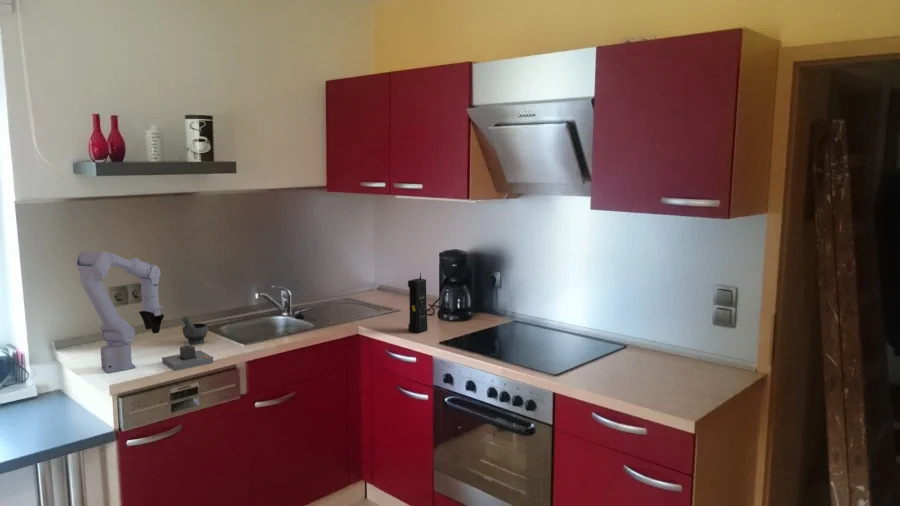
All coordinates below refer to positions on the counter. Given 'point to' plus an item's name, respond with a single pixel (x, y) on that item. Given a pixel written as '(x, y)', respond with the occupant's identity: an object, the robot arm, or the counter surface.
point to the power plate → (187, 361)
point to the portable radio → (417, 305)
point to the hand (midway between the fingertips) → (152, 331)
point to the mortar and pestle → (194, 331)
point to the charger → (187, 352)
